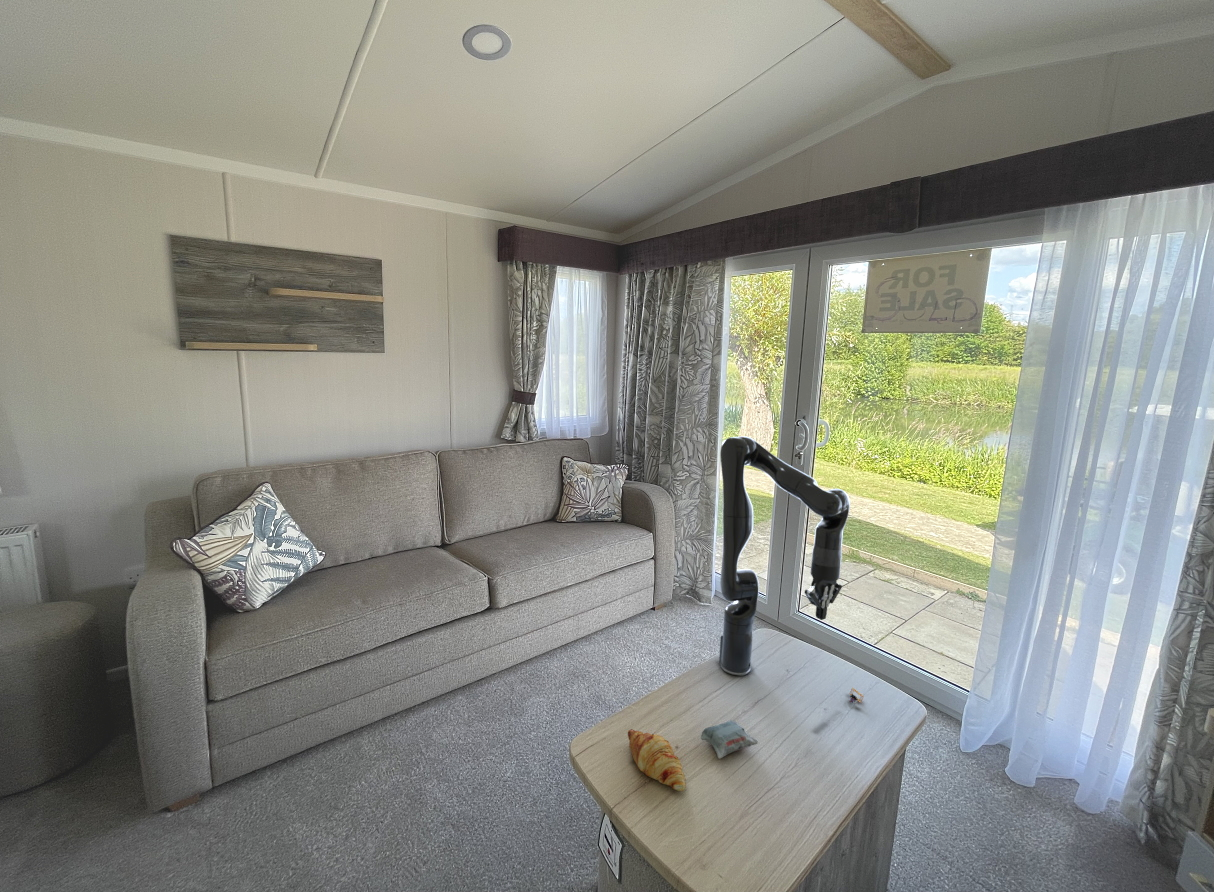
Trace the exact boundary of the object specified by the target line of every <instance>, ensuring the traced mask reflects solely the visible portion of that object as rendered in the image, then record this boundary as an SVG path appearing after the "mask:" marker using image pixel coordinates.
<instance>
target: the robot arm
mask: <svg viewBox="0 0 1214 892" xmlns="http://www.w3.org/2000/svg"><path fill="white" fill-rule="evenodd" d="M719 453H720V455H719V456H720V466H721V467H720V468H721V478H722V557H721V559H722V560H721V567H720V582H719V583H720V591H721V595H722V597H723V598H724V600H726V601H727V602H731V603H729V604H727V605H726V607H725V608H724V609H723V610H724V611H723V628H722V635H721V636H720V641H719V657H718V658H719V659H718V660H719V661H718V663H719V664H720V668H721V669H722V670H723V671H724V672H725V673H727V674H729V675H731V676H736V677H737V676H738V677H742V676H746V675H748V674H749V673H750V672H751V669H752V650H753V636H754V621H755V616H756V614H757V608H758V601H759V600H758V599H759V592H760V591H759V590H760V583H759V578H758V576H757V574H756V572H755V571H754V570H752V569H750V568H743V569H738V564H739V559H740V556H741V554H742V552H743V550H744V548H745V547H746V545H747V543H748V542H749V540H750V539H751V536H752V534H753V531H754V507H753V504H752V501H751V499H750V496H749V494H748V492H747V489H746V486H745V466H749V467H751V468H754V469H757V470H759V471H761V472H763V473H764V474H765V475H767V476H768V477H769V478H770V479H771V480H772V481H773V482H774V484H775V485H776V486H777V487H779V488H780V489H782V490H783V491H784V492H786V493H788V494H789V495H791V496H793V497H795V498H796V499H799V500H800V501H801V502H802V504H804V505H805V507H807V508H808V509H810V511H812V512H813V513H814V514H816V515H818V516H820V517H821V520H820V522H818V523H817V525H816V527H815V530H814V539H813V545H812V546H813V547H812V551H811V562H810V572H809V573H810V575H811V577H812V581H811V583H810V588H809V589H805V590H804V594H805V596H806V598H807V600H808V601H809V603H810V604H811V605H813V606H814V607H815V618H816V619H818V620H820V621H822V620H826V618H827V615H828V614H827V613H828V607H829V606H830V605H831V604H833V603H834V602H835V600H836V599H837V597H838V595H839V593H840V591H841V590H842V588H843V585H842V584H840V583H838V580H839V579H840V578H841V577H840V576H841V568H842V567H841V566H842V557H843V553H842V552H843V551H842V546H843V536H844V535H843V534H844V529H845V526H846V525H847V522H848V521H847V520H848V517H849V513H850V509H851V500H850V497H849V495H848V493H847V492H846V491H845V490H843V489H841V488H831V489H828V490H824V489H822V488H821V487H819V486H818V482H817V480H816V479H815V478H814V477H812V476H811V475H808V474H806V473H805V472H803V471H801V470H799V469H797V468H795V467H794V466H792V465H790V464H788V463H786V462H785V461H783V460H782V459H780V458H778V457H777V456H775V455H774V454H773V453H771V452H770V451H769V450H767V448H765V447H764V446H762V445H761V444H760V443H759V442H758V441H756V440H755V439H753V438H752V437H750V436H745V435H743V436H741V435H740V436H731V437H728V438H725V440H723V442H722V443H721V446H720V452H719Z"/></svg>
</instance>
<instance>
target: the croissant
mask: <svg viewBox="0 0 1214 892" xmlns="http://www.w3.org/2000/svg"><path fill="white" fill-rule="evenodd" d="M627 738H628V740H629V742H628V743H629V745H628V747H629V750H630V752H631V755H632V759H633V761H634V763H635V764H636V766H637V768H638V769H639V770H640V772H642V773H643V774H644V775H646V776H647V777H649V778H650V779H654V780H656V781H658V782H659V783H660V784H663V785H667V786H670V787H671V789H673V790H675V791H678V792H684V791H685V790H686V788H687V787H686V785H687V784H686V778H685V773H684V772H683V765H682V763H681V761H680V759H679V757H677V756H676V755H675V753H674V749H673V747H672V746H671V744H670V742H669V740H667V739H666V738H665V737H663V736H662V735H660V734H658V733H655V734H654V733H652V734H651V733H650V732H645V733H643V731H640V730H634V729H633V728H630V729H629V730H628V731H627Z"/></svg>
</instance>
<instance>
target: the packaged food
mask: <svg viewBox="0 0 1214 892" xmlns="http://www.w3.org/2000/svg"><path fill="white" fill-rule="evenodd" d="M700 739H701V740H702V741H705V742H706V743H708V744H709V745H711V746H712V747H713V749H714V751H715V753H716V756H717V759H719V760H721V759H722V758H724V757H726V756H727V755H730V754H731V753H733V752H737V751H740V750H742V749H745V748H749V747H752V746H754V745H758V740H757V739H755V738H754V737H752V736H751V735H750V734H748V733H747V732H746V730H745V729H744V727H743V726H741V725H740V724H739V723H738V722H736V721H734V720H732V719H730V720H728V721H726V722H723V723H720V724H716V725H712V726H708V727H705V728H704V729H703V730H702V732H701V735H700Z"/></svg>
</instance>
